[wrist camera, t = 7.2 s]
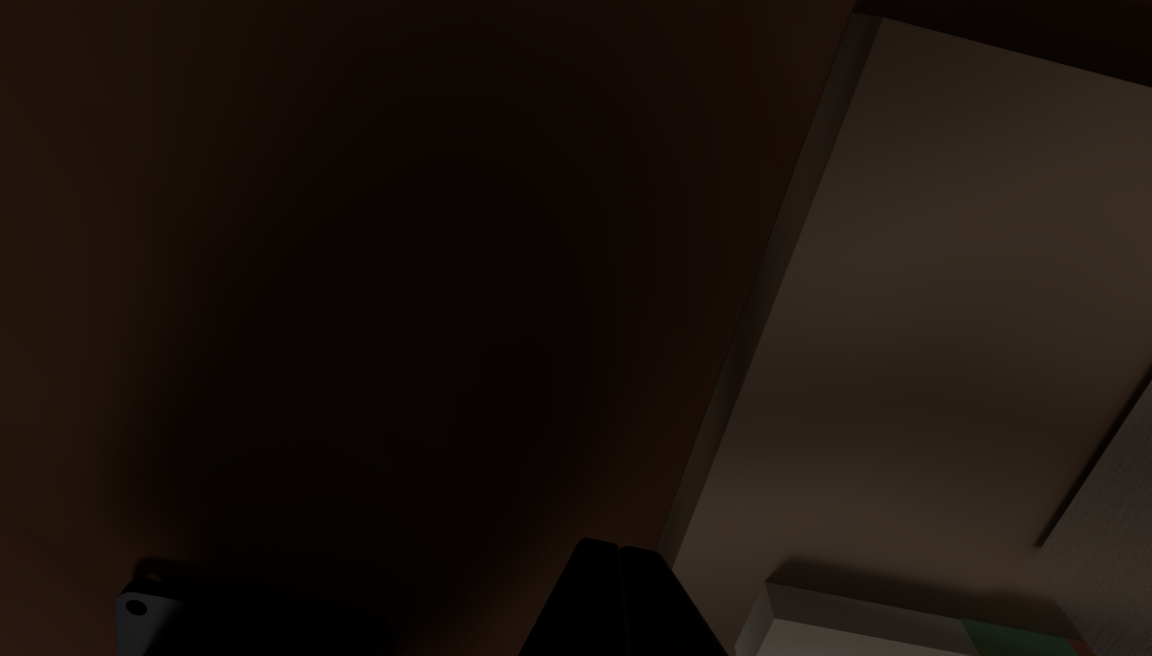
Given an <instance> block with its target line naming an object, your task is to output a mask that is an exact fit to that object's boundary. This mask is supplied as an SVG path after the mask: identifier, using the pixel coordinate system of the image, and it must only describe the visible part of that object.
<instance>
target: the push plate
mask: <svg viewBox="0 0 1152 656" xmlns="http://www.w3.org/2000/svg"><path fill="white" fill-rule="evenodd" d="M1030 567H1031V568H1032V569H1033V571H1034V572H1035V574H1036V575H1037V576H1038V578H1039V579H1040V580H1041V582H1042V583H1043V584H1044V586H1045V587H1046V589H1047V590H1048V591H1049V593H1050V594H1051V595H1052V597H1053V598H1054V599H1055V601H1056V602H1057V604H1058V605H1059V606H1060V608H1061V609H1062V610H1063V612H1064V613H1065V614H1066V616H1067V617H1068V619H1069V620H1070V621H1071V623H1072V624H1073V625H1074V627H1075V628H1076V629H1077V631H1078V632H1079V633H1080V635H1081V636H1082V638H1083V639H1084V640H1085V642H1086V643H1087V644H1088V646H1089V647H1090V648H1091V650H1092V653H1091V654H1090V655H1089V656H1152V380H1151V382H1150V383H1149V385H1148V386H1147V388H1146V389H1145V391H1144V392H1143V394H1142V395H1141V397H1140V398H1139V400H1138V401H1137V403H1136V404H1135V406H1134V407H1133V409H1132V410H1131V412H1130V414H1129V415H1128V417H1127V418H1126V420H1125V421H1124V423H1123V424H1122V426H1121V427H1120V429H1119V430H1118V432H1117V433H1116V435H1115V436H1114V438H1113V439H1112V441H1111V442H1110V444H1109V445H1108V447H1107V449H1106V450H1105V452H1104V453H1103V455H1102V456H1101V458H1100V459H1099V461H1098V462H1097V464H1096V465H1095V467H1094V468H1093V470H1092V471H1091V473H1090V474H1089V476H1088V477H1087V479H1086V481H1085V482H1084V484H1083V485H1082V487H1081V488H1080V490H1079V491H1078V493H1077V494H1076V496H1075V497H1074V499H1073V500H1072V502H1071V503H1070V505H1069V506H1068V508H1067V509H1066V511H1065V512H1064V514H1063V516H1062V517H1061V519H1060V520H1059V522H1058V523H1057V525H1056V526H1055V528H1054V529H1053V531H1052V532H1051V534H1050V535H1049V537H1048V538H1047V540H1046V541H1045V543H1044V544H1043V546H1042V547H1041V549H1040V551H1039V552H1038V554H1037V555H1036V557H1035V558H1034V560H1033V561H1032V563H1031V564H1030Z"/></svg>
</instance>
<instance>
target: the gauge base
mask: <svg viewBox="0 0 1152 656" xmlns="http://www.w3.org/2000/svg"><path fill="white" fill-rule="evenodd" d="M1151 380H1152V88H1151V87H1147V86H1143V85H1139V84H1136V83H1132V82H1128V81H1124V80H1120V79H1117V78H1113V77H1109V76H1105V75H1101V74H1098V73H1094V72H1090V71H1086V70H1082V69H1079V68H1075V67H1071V66H1067V65H1063V64H1060V63H1056V62H1052V61H1048V60H1044V59H1041V58H1037V57H1033V56H1029V55H1025V54H1021V53H1018V52H1014V51H1010V50H1006V49H1002V48H999V47H995V46H991V45H987V44H983V43H980V42H976V41H972V40H968V39H964V38H961V37H957V36H953V35H949V34H945V33H942V32H938V31H934V30H930V29H926V28H922V27H919V26H915V25H911V24H907V23H903V22H900V21H896V20H892V19H888V18H884V17H879V16H873V15H867V14H861V13H855V12H851V15H850V18H849V21H848V23H847V26H846V29H845V32H844V34H843V37H842V40H841V43H840V45H839V48H838V51H837V54H836V56H835V59H834V62H833V65H832V67H831V70H830V73H829V76H828V78H827V81H826V84H825V87H824V89H823V92H822V95H821V98H820V100H819V103H818V106H817V109H816V111H815V114H814V117H813V120H812V122H811V125H810V128H809V131H808V133H807V136H806V139H805V142H804V144H803V147H802V150H801V153H800V155H799V158H798V161H797V164H796V166H795V169H794V172H793V175H792V177H791V180H790V183H789V185H788V188H787V191H786V194H785V196H784V199H783V202H782V205H781V207H780V210H779V213H778V216H777V218H776V221H775V224H774V227H773V229H772V232H771V235H770V238H769V240H768V243H767V246H766V249H765V251H764V254H763V257H762V260H761V262H760V265H759V268H758V271H757V273H756V276H755V279H754V282H753V284H752V287H751V290H750V293H749V295H748V298H747V301H746V304H745V306H744V309H743V312H742V315H741V317H740V320H739V323H738V326H737V328H736V331H735V334H734V337H733V339H732V342H731V345H730V348H729V350H728V353H727V356H726V358H725V361H724V364H723V367H722V369H721V372H720V375H719V378H718V380H717V383H716V386H715V389H714V391H713V394H712V397H711V400H710V402H709V405H708V408H707V411H706V413H705V416H704V419H703V422H702V424H701V427H700V430H699V433H698V435H697V438H696V441H695V444H694V446H693V449H692V452H691V455H690V457H689V460H688V463H687V466H686V468H685V471H684V474H683V477H682V479H681V482H680V485H679V488H678V490H677V493H676V496H675V499H674V501H673V504H672V507H671V510H670V512H669V515H668V518H667V520H666V523H665V526H664V529H663V531H662V534H661V537H660V540H659V542H658V545H657V548H656V551H655V552H658V553H660V554H661V555H662V556H663V557H664V559H665V560H666V562H667V563H668V565H669V566H670V568H671V569H672V571H673V572H674V574H675V575H676V577H677V578H678V580H679V581H680V583H681V584H682V586H683V587H684V589H685V590H686V592H687V593H688V595H689V596H690V598H691V599H692V601H693V602H694V604H695V605H696V607H697V608H698V610H699V611H700V613H701V614H702V616H703V617H704V619H705V620H706V622H707V623H708V625H709V626H710V628H711V629H712V631H713V632H714V634H715V635H716V637H717V638H718V640H719V641H720V643H721V644H722V646H723V647H724V649H725V650H726V652H727V653H728V655H729V656H1089V655H1090V654H1091V653H1092V650H1091V648H1090V647H1089V646H1088V644H1087V643H1086V642H1085V640H1084V639H1083V638H1082V636H1081V635H1080V633H1079V632H1078V631H1077V629H1076V628H1075V627H1074V625H1073V624H1072V623H1071V621H1070V620H1069V619H1068V617H1067V616H1066V614H1065V613H1064V612H1063V610H1062V609H1061V608H1060V606H1059V605H1058V604H1057V602H1056V601H1055V599H1054V598H1053V597H1052V595H1051V594H1050V593H1049V591H1048V590H1047V589H1046V587H1045V586H1044V584H1043V583H1042V582H1041V580H1040V579H1039V578H1038V576H1037V575H1036V574H1035V572H1034V571H1033V569H1032V568H1031V567H1030V564H1031V563H1032V561H1033V560H1034V558H1035V557H1036V555H1037V554H1038V552H1039V551H1040V549H1041V547H1042V546H1043V544H1044V543H1045V541H1046V540H1047V538H1048V537H1049V535H1050V534H1051V532H1052V531H1053V529H1054V528H1055V526H1056V525H1057V523H1058V522H1059V520H1060V519H1061V517H1062V516H1063V514H1064V512H1065V511H1066V509H1067V508H1068V506H1069V505H1070V503H1071V502H1072V500H1073V499H1074V497H1075V496H1076V494H1077V493H1078V491H1079V490H1080V488H1081V487H1082V485H1083V484H1084V482H1085V481H1086V479H1087V477H1088V476H1089V474H1090V473H1091V471H1092V470H1093V468H1094V467H1095V465H1096V464H1097V462H1098V461H1099V459H1100V458H1101V456H1102V455H1103V453H1104V452H1105V450H1106V449H1107V447H1108V445H1109V444H1110V442H1111V441H1112V439H1113V438H1114V436H1115V435H1116V433H1117V432H1118V430H1119V429H1120V427H1121V426H1122V424H1123V423H1124V421H1125V420H1126V418H1127V417H1128V415H1129V414H1130V412H1131V410H1132V409H1133V407H1134V406H1135V404H1136V403H1137V401H1138V400H1139V398H1140V397H1141V395H1142V394H1143V392H1144V391H1145V389H1146V388H1147V386H1148V385H1149V383H1150V382H1151Z"/></svg>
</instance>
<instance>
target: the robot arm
mask: <svg viewBox="0 0 1152 656" xmlns="http://www.w3.org/2000/svg"><path fill="white" fill-rule="evenodd" d="M115 610H116V630H117V650H118V656H387V650H388V644H389V633H388V631H387V630H386V628H384V627H383V626H382V625H380V624H378V623H375V622H372V621H367V620H362V619H356V618H351V617H345V616H340V615H334V614H329V613H323V612H318V611H312V610H307V609H301V608H296V607H290V606H284V605H279V604H273V603H268V602H262V601H257V600H251V599H246V598H240V597H235V596H229V595H224V594H218V593H213V592H207V591H202V590H196V589H191V588H185V587H180V586H174V585H169V584H163V583H158V582H152V581H147V580H135V581H132V582H130V583H129V584H128V585H127V586H126V587H125V588H124V589H123V591H122V592H121V593H120V595H119V596H118V597H117V599H116V603H115ZM365 641H367V642H365ZM368 642H370V643H368ZM518 656H729V655H728V653H727V652H726V650H725V649H724V647H723V646H722V644H721V643H720V641H719V640H718V638H717V637H716V635H715V634H714V632H713V631H712V629H711V628H710V626H709V625H708V623H707V622H706V620H705V619H704V617H703V616H702V614H701V613H700V611H699V610H698V608H697V607H696V605H695V604H694V602H693V601H692V599H691V598H690V596H689V595H688V593H687V592H686V590H685V589H684V587H683V586H682V584H681V583H680V581H679V580H678V578H677V577H676V575H675V574H674V572H673V571H672V569H671V568H670V566H669V565H668V563H667V562H666V560H665V559H664V557H663V556H662V555H661V554H660V553H658V552H655V551H651V550H646V549H641V548H636V547H631V546H625V547H622V548H621V549H620V548H619V547H618V546H617V545H616V544H614V543H610V542H605V541H600V540H595V539H590V538H583V539H581V540H580V541H579V542H578V544H577V546H576V548H575V549H574V551H573V553H572V555H571V557H570V559H569V561H568V563H567V565H566V566H565V568H564V570H563V572H562V574H561V576H560V578H559V580H558V581H557V583H556V585H555V587H554V589H553V591H552V593H551V595H550V596H549V598H548V600H547V602H546V604H545V606H544V608H543V610H542V612H541V613H540V615H539V617H538V619H537V621H536V623H535V625H534V627H533V628H532V630H531V632H530V634H529V636H528V638H527V640H526V642H525V643H524V645H523V647H522V649H521V651H520V653H519V655H518Z"/></svg>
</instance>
